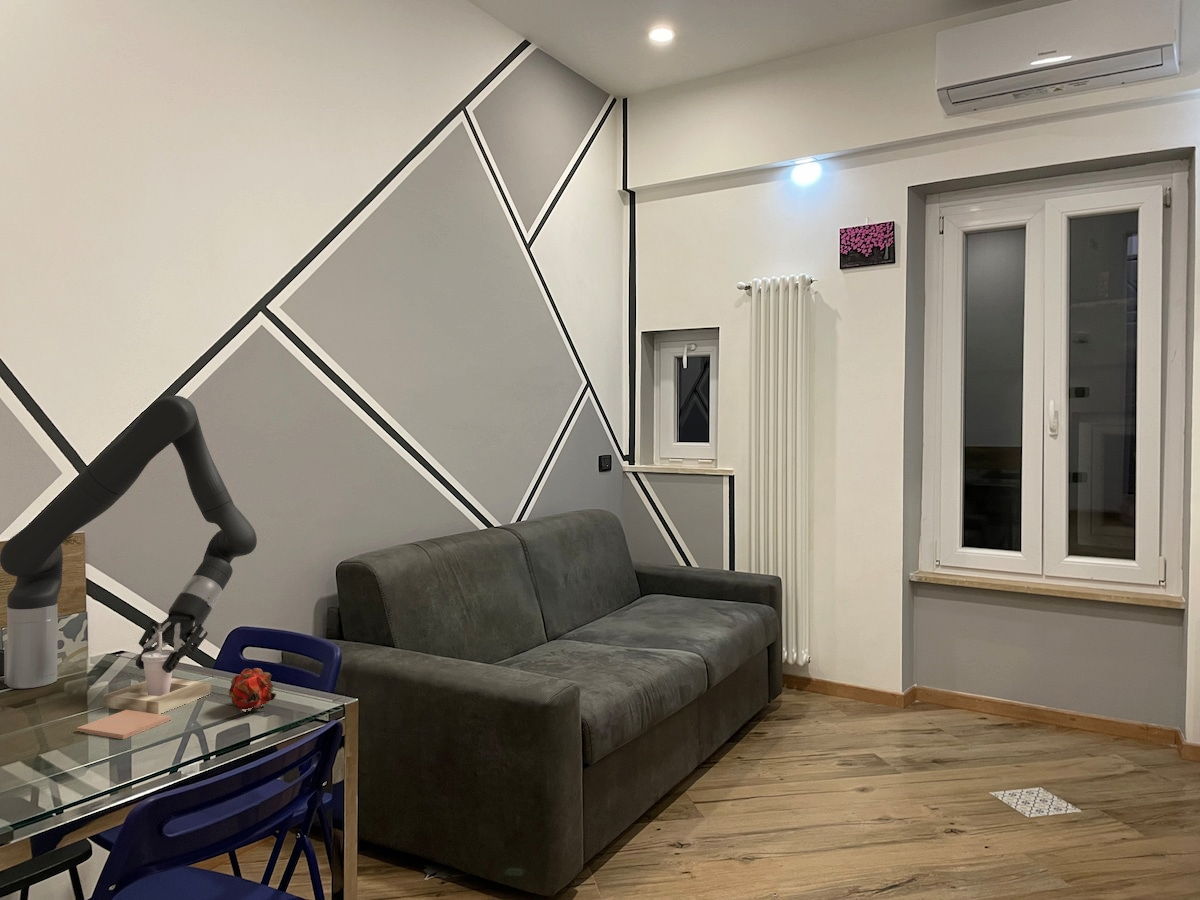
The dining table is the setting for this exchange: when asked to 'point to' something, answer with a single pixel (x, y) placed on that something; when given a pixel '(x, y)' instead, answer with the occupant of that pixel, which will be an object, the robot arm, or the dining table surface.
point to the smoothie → (157, 670)
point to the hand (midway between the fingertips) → (152, 668)
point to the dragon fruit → (251, 689)
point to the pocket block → (142, 702)
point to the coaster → (124, 724)
